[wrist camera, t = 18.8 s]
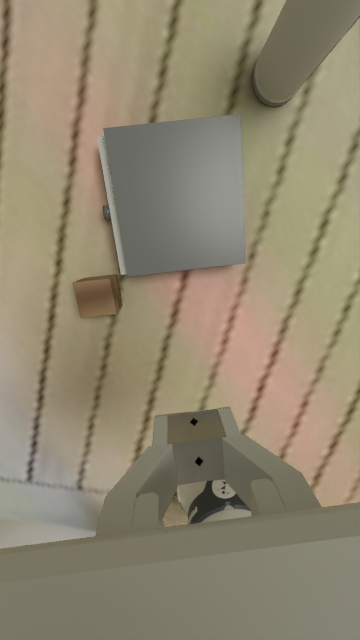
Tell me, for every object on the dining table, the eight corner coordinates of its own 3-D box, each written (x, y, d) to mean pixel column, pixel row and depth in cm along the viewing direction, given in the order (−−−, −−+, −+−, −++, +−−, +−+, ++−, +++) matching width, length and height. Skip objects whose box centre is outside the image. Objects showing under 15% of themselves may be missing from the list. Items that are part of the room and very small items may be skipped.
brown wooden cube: (122, 305, 40) (116, 314, 35) (91, 309, 40) (80, 318, 35) (116, 274, 39) (109, 278, 34) (84, 278, 39) (72, 282, 34)
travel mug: (248, 51, 32) (372, -247, 12) (299, 45, 32) (502, -259, 13) (249, 110, 33) (360, -71, 14) (298, 105, 33) (473, -82, 14)
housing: (235, 260, 39) (245, 263, 34) (133, 272, 39) (128, 276, 34) (230, 133, 34) (241, 114, 29) (112, 145, 34) (103, 128, 29)
